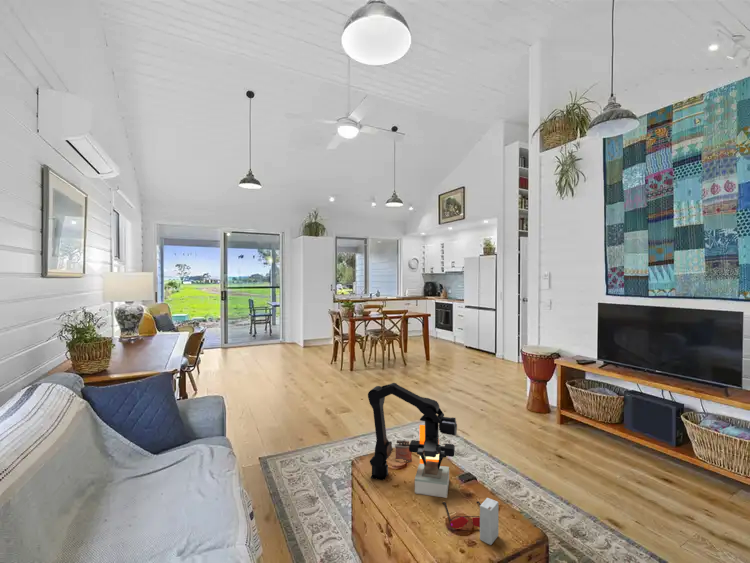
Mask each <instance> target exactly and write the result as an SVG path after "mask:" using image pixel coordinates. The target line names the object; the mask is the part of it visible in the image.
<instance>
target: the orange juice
mask: <svg viewBox="0 0 750 563" xmlns="http://www.w3.org/2000/svg"><path fill="white" fill-rule="evenodd" d="M419 441H420V444H424V441H425V424H419ZM427 461H433V462H439V454H436V457H426V462H427ZM419 463H421V464H424V463H423V460H422V458H421V456H420V455H419Z"/></svg>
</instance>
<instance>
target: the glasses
mask: <svg viewBox="0 0 750 563" xmlns="http://www.w3.org/2000/svg"><path fill="white" fill-rule="evenodd" d="M442 504H444V506H445V509H446V512H447V516H448V519H449V522H450V527H451V528H453V529H455V528H459V527H462V528H463V527H464V526H466V525H467V524H468V523H469V520H468V519H467V518H471V520H472V521H471V524H472V525H473V526H474V527H477V528H480V515H478V516H477V515H473V516H471V515H467V516H463V515H462V516H454V517H452V518H451V516H450V513H449V509H448V506H447V502H446V501H442ZM476 504H478V505H479V506H480V505H481V504H482V503H481V502H480V501H476ZM455 518H456V519H455Z"/></svg>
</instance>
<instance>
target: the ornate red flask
mask: <svg viewBox="0 0 750 563" xmlns="http://www.w3.org/2000/svg"><path fill="white" fill-rule="evenodd" d="M409 445H410V440H406V439H396V444H394V447H395V459H403V460H406V461H408V462H407V463H412V462H413V458H412V457H413V456H412V454H413V452H410V451H409ZM395 459H394V460H395Z"/></svg>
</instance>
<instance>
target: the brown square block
mask: <svg viewBox="0 0 750 563" xmlns="http://www.w3.org/2000/svg"><path fill="white" fill-rule="evenodd" d="M438 470H439V469H438V462H433V461H427V462H426V465H425V474H431V475H437V474H438Z"/></svg>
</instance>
